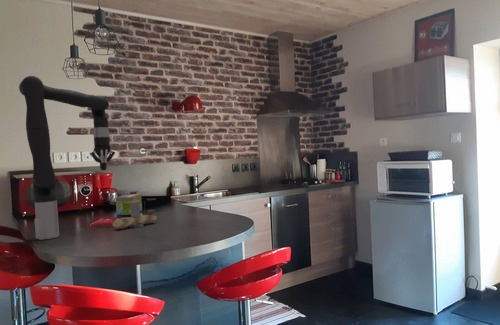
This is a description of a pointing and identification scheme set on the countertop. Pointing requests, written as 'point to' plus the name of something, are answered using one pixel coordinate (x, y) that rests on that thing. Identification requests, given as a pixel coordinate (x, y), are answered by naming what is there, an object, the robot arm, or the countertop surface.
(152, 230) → the countertop surface
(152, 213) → the bread loaf
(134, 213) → the block
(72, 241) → the countertop surface
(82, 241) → the countertop surface
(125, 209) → the tea box
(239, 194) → the countertop surface
